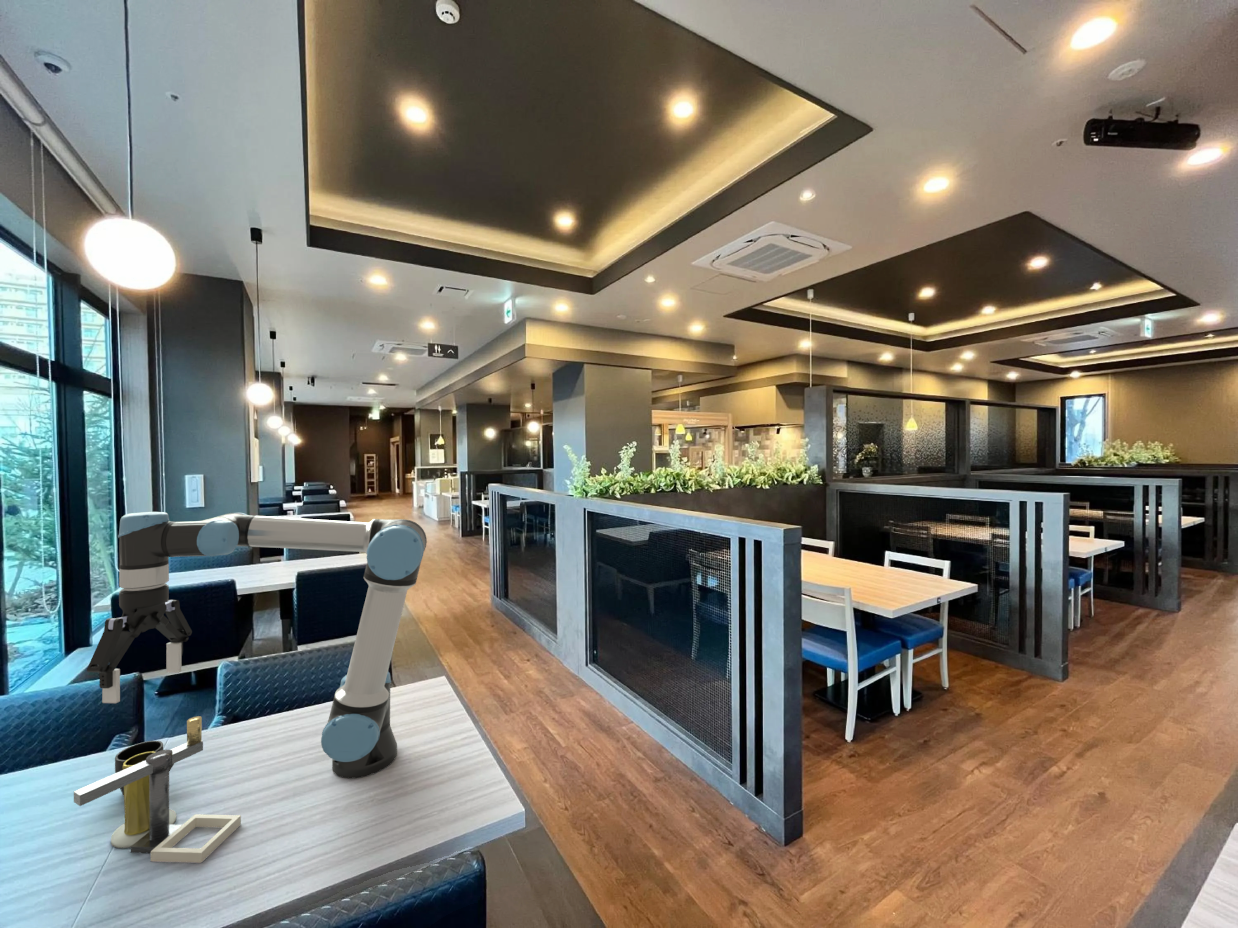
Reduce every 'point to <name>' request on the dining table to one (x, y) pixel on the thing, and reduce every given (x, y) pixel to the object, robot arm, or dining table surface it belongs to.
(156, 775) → the post
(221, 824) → the cream rectangular frame
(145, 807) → the vase
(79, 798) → the bar
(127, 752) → the mug
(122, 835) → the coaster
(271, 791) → the dining table surface
